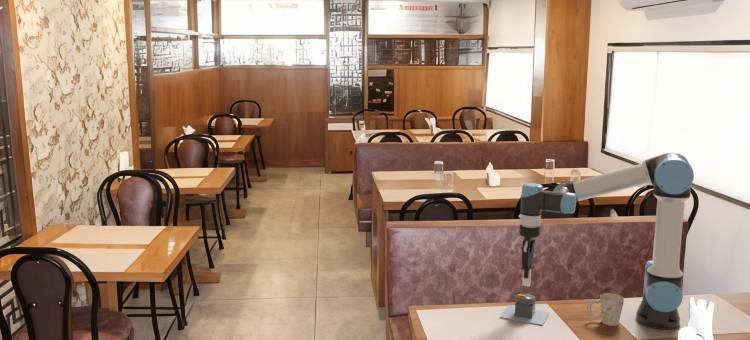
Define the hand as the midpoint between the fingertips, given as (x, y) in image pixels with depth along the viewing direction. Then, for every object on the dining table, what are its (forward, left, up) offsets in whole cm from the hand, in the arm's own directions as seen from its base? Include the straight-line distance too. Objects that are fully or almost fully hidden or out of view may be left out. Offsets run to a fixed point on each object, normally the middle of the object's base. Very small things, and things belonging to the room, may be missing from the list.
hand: (526, 285), depth 249 cm
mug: (-28, -7, -12) cm, 31 cm away
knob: (0, 0, -12) cm, 12 cm away
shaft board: (0, 0, -12) cm, 12 cm away
